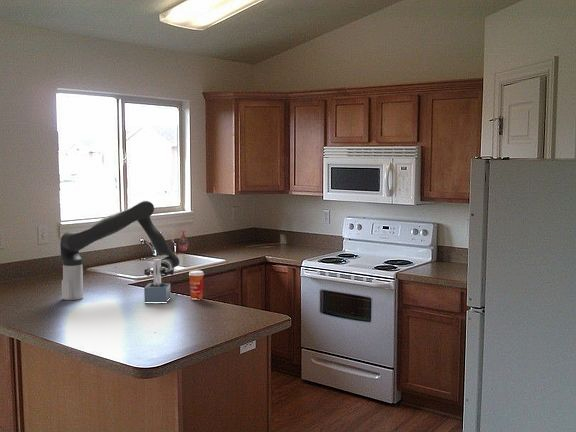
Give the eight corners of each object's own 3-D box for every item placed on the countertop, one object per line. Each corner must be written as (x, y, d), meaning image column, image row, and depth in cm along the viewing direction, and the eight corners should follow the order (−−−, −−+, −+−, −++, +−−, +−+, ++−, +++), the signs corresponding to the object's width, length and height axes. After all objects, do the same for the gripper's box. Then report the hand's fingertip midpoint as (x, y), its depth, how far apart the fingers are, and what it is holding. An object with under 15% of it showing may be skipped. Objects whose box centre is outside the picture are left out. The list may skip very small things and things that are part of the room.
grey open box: (166, 303, 305) (166, 287, 304) (144, 303, 305) (144, 287, 304) (170, 299, 316) (170, 283, 315) (149, 298, 316) (149, 283, 315)
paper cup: (185, 299, 314) (185, 272, 313) (194, 296, 321) (194, 269, 320) (198, 301, 310) (198, 273, 309) (207, 298, 317) (207, 271, 316)
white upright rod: (152, 300, 308) (151, 259, 306) (154, 298, 313) (153, 258, 311) (161, 300, 308) (160, 260, 306) (163, 298, 312) (162, 258, 311)
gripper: (149, 260, 323) (141, 266, 307) (177, 261, 323) (171, 266, 307) (149, 275, 324) (142, 281, 307) (177, 275, 324) (171, 281, 307)
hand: (156, 274), depth 307 cm, fingers open, 8 cm apart
